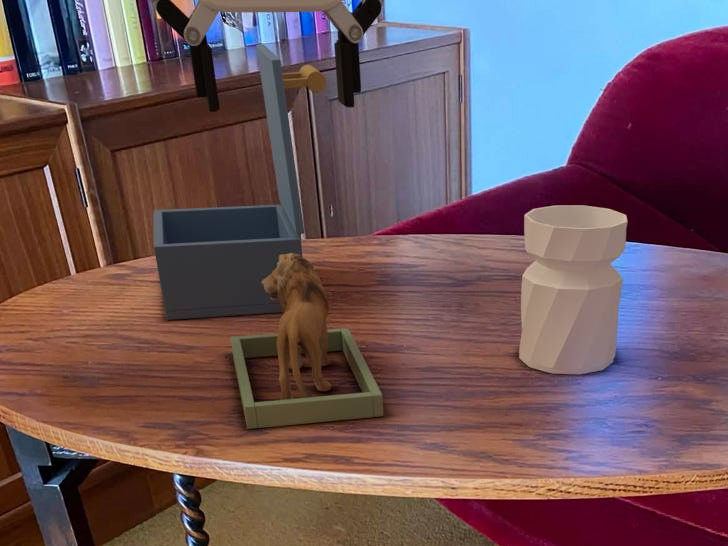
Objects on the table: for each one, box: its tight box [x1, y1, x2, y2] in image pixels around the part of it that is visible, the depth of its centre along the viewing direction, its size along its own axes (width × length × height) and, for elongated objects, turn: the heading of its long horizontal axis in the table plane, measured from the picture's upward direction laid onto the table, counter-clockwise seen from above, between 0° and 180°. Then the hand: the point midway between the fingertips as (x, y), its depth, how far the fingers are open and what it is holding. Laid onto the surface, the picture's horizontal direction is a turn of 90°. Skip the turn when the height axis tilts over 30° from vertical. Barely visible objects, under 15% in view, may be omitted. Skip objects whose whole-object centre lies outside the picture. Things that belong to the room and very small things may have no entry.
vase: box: [518, 205, 628, 376], centre depth 84 cm, size 9×9×12 cm
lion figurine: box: [262, 253, 332, 400], centre depth 79 cm, size 15×5×9 cm, turn 14°
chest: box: [153, 204, 304, 321], centre depth 100 cm, size 14×16×7 cm
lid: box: [255, 43, 327, 235], centre depth 95 cm, size 15×16×5 cm
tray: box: [229, 327, 384, 430], centre depth 81 cm, size 11×17×2 cm, turn 15°
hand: (281, 107), depth 70 cm, fingers open, 9 cm apart
